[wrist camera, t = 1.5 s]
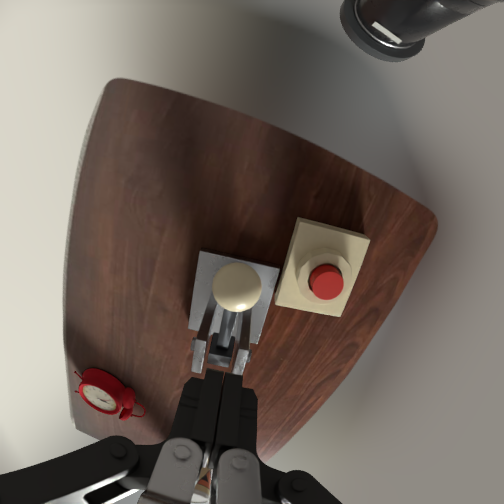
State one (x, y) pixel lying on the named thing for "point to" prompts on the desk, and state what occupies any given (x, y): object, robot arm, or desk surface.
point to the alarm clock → (107, 393)
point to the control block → (314, 255)
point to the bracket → (210, 312)
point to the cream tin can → (202, 486)
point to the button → (326, 282)
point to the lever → (232, 306)
